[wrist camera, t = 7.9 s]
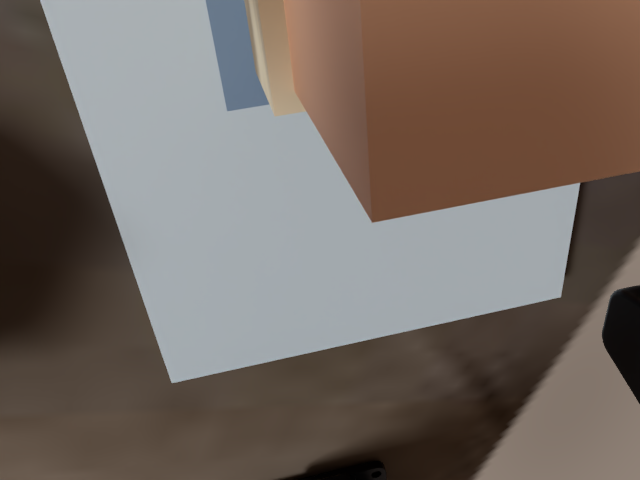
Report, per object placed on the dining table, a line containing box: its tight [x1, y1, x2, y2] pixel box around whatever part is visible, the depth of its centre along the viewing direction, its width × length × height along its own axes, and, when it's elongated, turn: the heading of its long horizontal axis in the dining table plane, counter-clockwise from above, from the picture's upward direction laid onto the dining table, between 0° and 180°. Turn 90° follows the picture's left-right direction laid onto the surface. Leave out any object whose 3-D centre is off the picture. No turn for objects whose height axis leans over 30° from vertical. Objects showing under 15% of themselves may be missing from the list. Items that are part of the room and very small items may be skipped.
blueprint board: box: [40, 0, 580, 383], centre depth 17 cm, size 18×16×1 cm
